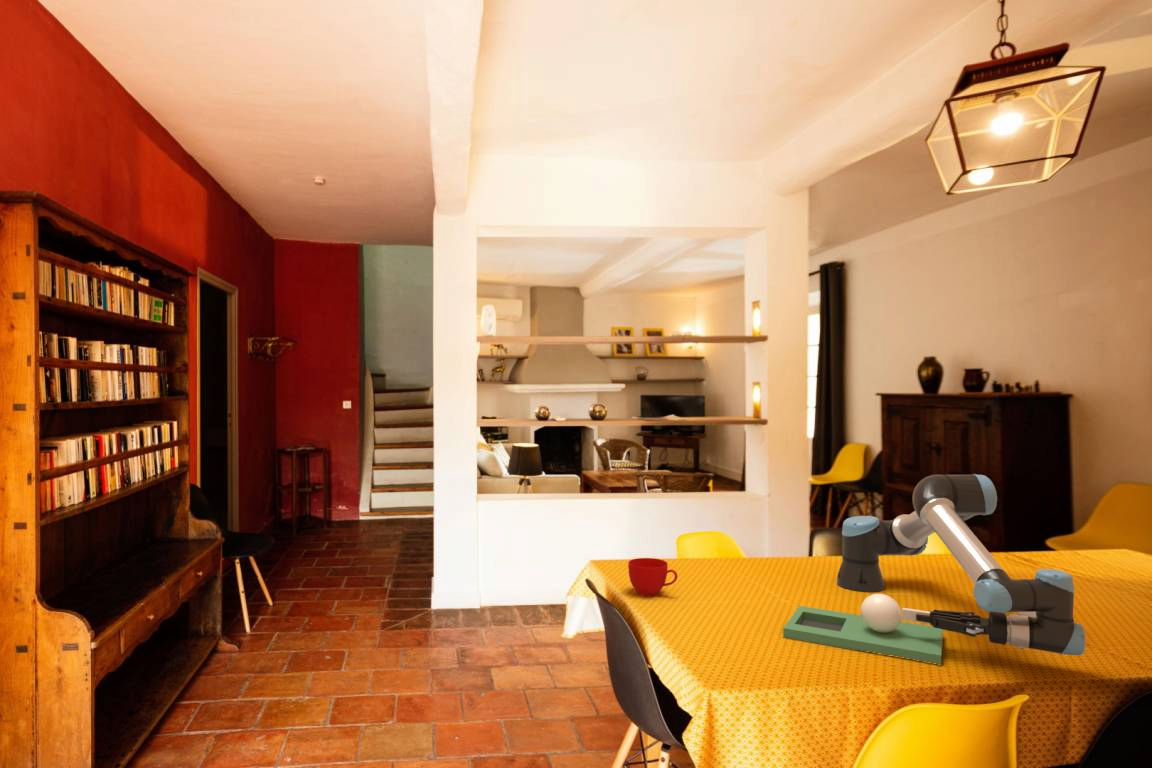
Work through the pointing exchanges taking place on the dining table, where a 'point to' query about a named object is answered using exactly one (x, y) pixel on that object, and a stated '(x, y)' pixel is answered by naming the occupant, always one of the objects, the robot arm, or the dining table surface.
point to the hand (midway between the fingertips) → (902, 613)
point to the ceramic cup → (649, 575)
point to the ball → (881, 613)
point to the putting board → (864, 634)
